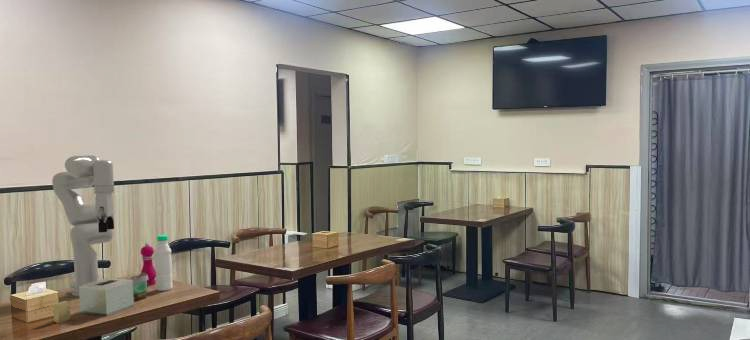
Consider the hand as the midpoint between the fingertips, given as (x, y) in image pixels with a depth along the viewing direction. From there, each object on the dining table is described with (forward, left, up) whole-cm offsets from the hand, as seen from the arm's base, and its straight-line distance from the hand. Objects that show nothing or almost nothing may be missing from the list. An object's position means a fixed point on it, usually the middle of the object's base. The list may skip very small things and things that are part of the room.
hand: (106, 230), depth 240 cm
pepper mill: (-10, +33, -31) cm, 46 cm away
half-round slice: (+6, +11, -32) cm, 34 cm away
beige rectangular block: (0, -23, -31) cm, 39 cm away
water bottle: (+5, +27, -31) cm, 42 cm away
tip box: (+5, -6, -31) cm, 32 cm away
